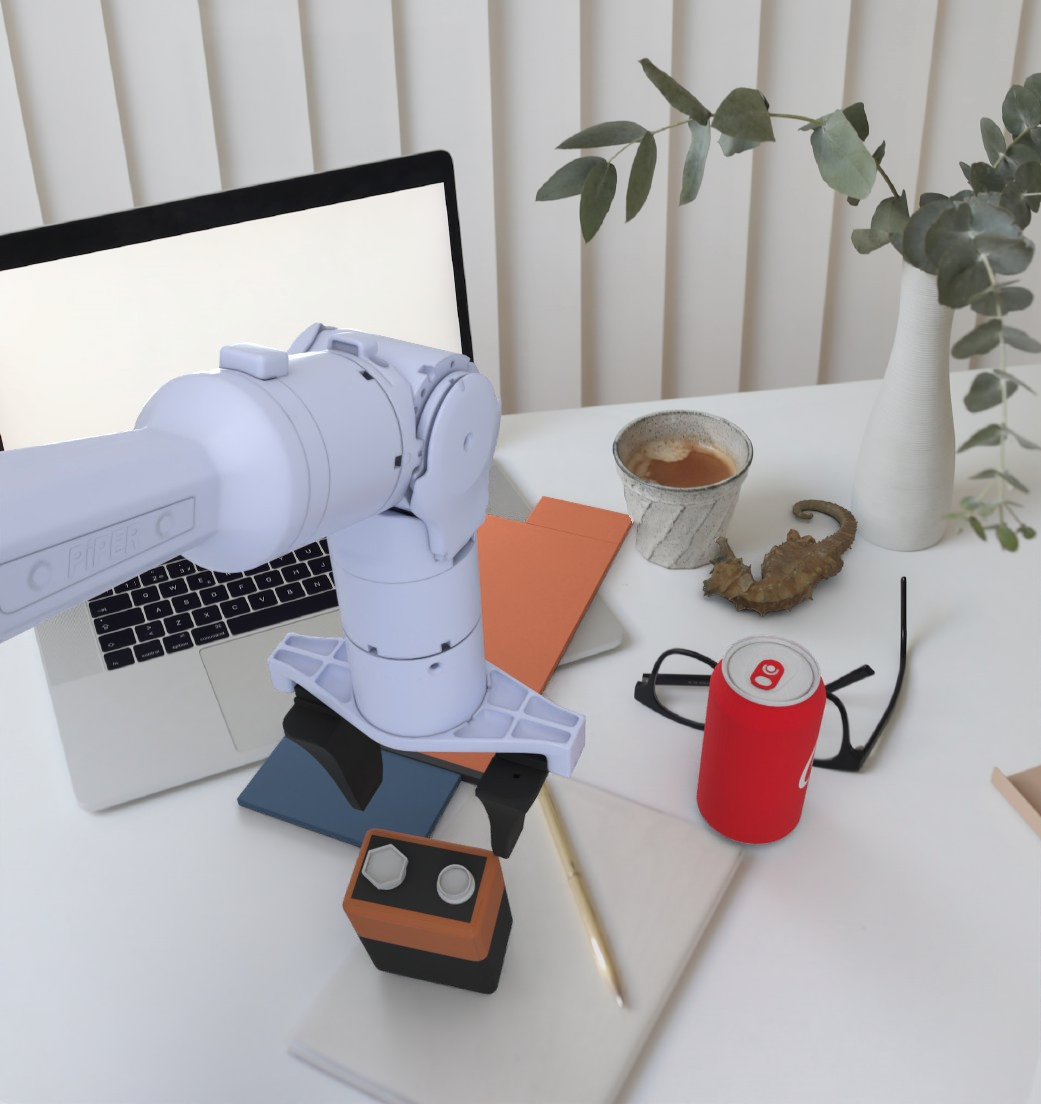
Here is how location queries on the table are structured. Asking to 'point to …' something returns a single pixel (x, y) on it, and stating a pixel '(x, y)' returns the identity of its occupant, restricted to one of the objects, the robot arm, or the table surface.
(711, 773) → the beverage can
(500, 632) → the sorting mat
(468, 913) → the battery
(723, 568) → the seahorse
